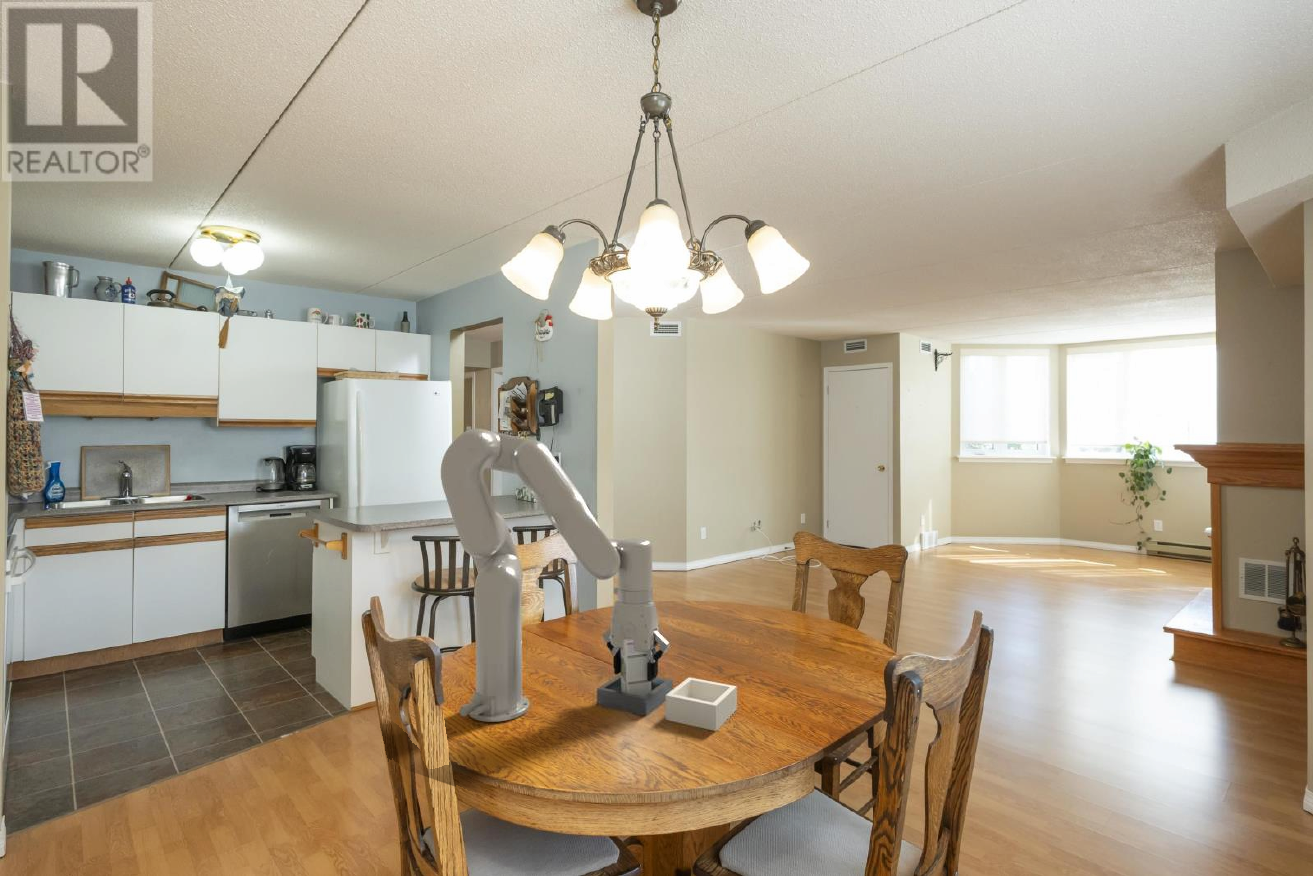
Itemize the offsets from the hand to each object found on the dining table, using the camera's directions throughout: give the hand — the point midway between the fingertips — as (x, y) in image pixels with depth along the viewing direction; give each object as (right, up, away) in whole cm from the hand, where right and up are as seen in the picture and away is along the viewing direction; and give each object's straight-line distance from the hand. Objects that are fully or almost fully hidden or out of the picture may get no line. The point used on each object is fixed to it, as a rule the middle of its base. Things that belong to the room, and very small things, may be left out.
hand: (635, 675), depth 142 cm
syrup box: (0, -6, 0) cm, 6 cm away
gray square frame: (0, -5, 0) cm, 5 cm away
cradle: (+14, -5, -8) cm, 17 cm away
